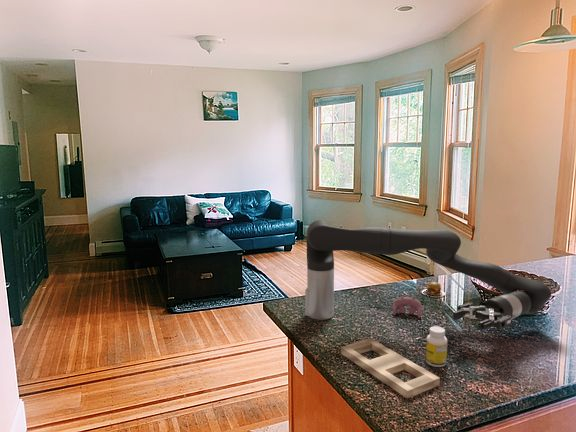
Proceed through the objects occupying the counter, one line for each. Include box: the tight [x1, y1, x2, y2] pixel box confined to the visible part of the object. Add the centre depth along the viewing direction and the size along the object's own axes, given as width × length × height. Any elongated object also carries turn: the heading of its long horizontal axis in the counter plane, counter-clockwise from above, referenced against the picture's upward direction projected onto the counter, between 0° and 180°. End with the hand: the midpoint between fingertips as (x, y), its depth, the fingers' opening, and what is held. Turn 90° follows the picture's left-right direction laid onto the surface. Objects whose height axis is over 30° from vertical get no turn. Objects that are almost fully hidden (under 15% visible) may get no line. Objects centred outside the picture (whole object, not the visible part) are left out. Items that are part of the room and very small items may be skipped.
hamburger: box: [421, 281, 446, 298], centre depth 173 cm, size 12×12×6 cm
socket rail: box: [340, 337, 441, 399], centre depth 117 cm, size 26×11×2 cm, turn 30°
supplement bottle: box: [425, 325, 448, 368], centre depth 120 cm, size 5×5×10 cm
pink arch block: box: [392, 296, 423, 319], centre depth 153 cm, size 10×5×7 cm, turn 71°
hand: (466, 321), depth 124 cm, fingers open, 8 cm apart
